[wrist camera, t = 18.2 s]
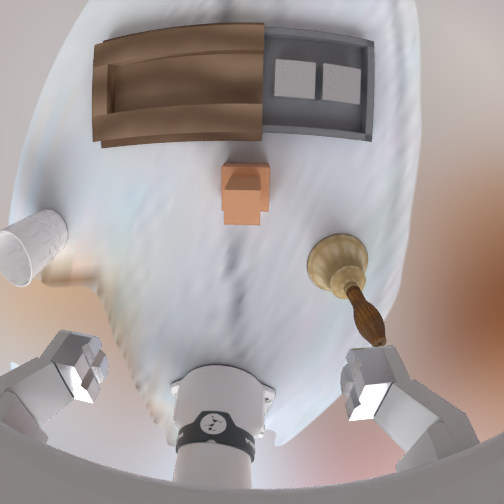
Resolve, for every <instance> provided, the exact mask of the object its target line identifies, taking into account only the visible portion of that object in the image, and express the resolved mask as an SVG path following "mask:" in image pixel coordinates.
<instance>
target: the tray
mask: <svg viewBox="0 0 504 504" xmlns="http://www.w3.org/2000/svg"><path fill="white" fill-rule="evenodd" d="M276 59H282V60H294V61H304V62H313V63H316V73H315V98H314V100H311V101H301V100H289V99H275V98H273V81H274V63H275V60H276ZM323 63H327V64H333V65H340V66H345V67H351V68H356V69H361V81H360V105H354V106H348V105H341V104H334V103H326V102H318V101H316V100H317V74H318V67H320V66H321V65H322V64H323ZM262 104H263V109H262V132H267V133H288V134H304V135H316V136H327V137H337V138H346V139H354V140H362V141H369V142H372V129H373V111H374V41H369V40H365V39H360V38H355V37H350V36H344V35H339V34H332V33H326V32H318V31H310V30H300V29H289V28H272V27H264V54H263V97H262Z"/></svg>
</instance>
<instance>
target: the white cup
mask: <svg viewBox="0 0 504 504" xmlns="http://www.w3.org/2000/svg"><path fill="white" fill-rule="evenodd" d="M67 241H68V230H67V227H66V225H65V222H64V220H63V219H62V218H61V216H60V215H59V214H58V213H57V212H55V211H53V210H51V209H48V210H42V211H40V212H38V213H36V214H33V215H30V216H28V217H26V218H24V219H22V220H20V221H18V222H16V223H14V224H12V225H10V226H8V227H6V228H4V229H2V230H0V271H1V272H2V274H3V275H4V277H5V278H6V279H7V280H8V281H9V282H11V283H12V284H14V285H15V286H18V287H25V286H27V285H28V284H29V283H30V282H31V281H32V280H33V279H34V278H35V277H36V276H37V275H38V274H39V273H40V272H41V271H42V270H43V269H44V268H45V267H46V266H47V265H48V264H49V263H50V262H51V261H52V260H53V259H54V258H55V256H56V255H57V254H58V253H59V252H60V251H61V250H62V249H64V247H65V245H66V243H67Z"/></svg>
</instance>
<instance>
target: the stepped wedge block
mask: <svg viewBox="0 0 504 504" xmlns="http://www.w3.org/2000/svg"><path fill="white" fill-rule="evenodd" d="M269 183H270V166H269V164H257V163H224V165H223V166H222V211H224V224H226V225H260V211H264V212H268V209H269Z"/></svg>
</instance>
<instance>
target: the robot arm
mask: <svg viewBox="0 0 504 504" xmlns="http://www.w3.org/2000/svg"><path fill="white" fill-rule="evenodd" d="M101 346H102V344H101V341H100V339H99V338H98V337H96V336H92V335H87V334H83V333H78V332H72V331H67V330H61V331H59V332H58V333H57V335H56V336H55V337H54V339H53V340H52V341H51V343H50V344H49V345H48V347H47V348H46V350H45V351H44V352H43V354H42V355H41V356H40V358H37V357H36V358H34V359H32V360H30V361H29V362H27V363H25V364H23V365H21V366H19V367H17V368H15V369H13V370H12V371H10V372H8V373H6V374H4V375H2V376H0V504H504V432H502V433H500V434H498V435H496V436H494V437H492V438H490V439H488V440H486V441H484V442H481V443H480V442H479V440H478V438H477V436H476V433H475V431H474V429H473V427H472V425H471V423H470V421H469V419H468V417H467V415H466V413H464V412H463V411H461V410H460V409H458V408H457V407H455V406H454V405H452V404H451V403H449V402H448V401H446V400H445V399H443V398H442V397H440V396H439V395H437V394H436V393H435V392H433V391H432V390H430V389H429V388H427V387H426V386H424V385H423V384H421V383H420V382H418V381H417V380H411V378H410V376H409V374H408V372H407V370H406V368H405V366H404V364H403V362H402V360H401V358H400V356H399V354H398V352H397V350H396V348H395V347H394V346H393V345H390V346H379V347H369V348H356V349H350V350H349V351H348V353H347V356H346V359H347V363H348V364H346V365H345V366H344V367H343V369H342V373H341V381H340V383H341V390H342V394H343V395H344V396H345V397H346V398H348V399H347V401H346V404H345V406H346V410H347V414H348V419H349V421H351V420H361V419H370V418H374V421H375V422H376V423H377V424H378V425H379V426H380V427H382V428H383V430H385V432H386V433H387V434H388V435H389V436H390V437H391V438H392V439H393V440H394V441H395V442H396V443H397V444H398V445H399V446H400V447H401V448H402V449H403V450H404V451H406V454H405V455H404V456H403V457H402V459H401V460H400V461H399V462H398V463H397V464H396V470H397V472H396V473H392V474H388V475H384V476H379V477H374V478H370V479H365V480H359V481H354V482H347V483H340V484H333V485H324V486H315V487H303V488H286V489H285V488H284V489H252V485H251V463H252V462H253V461H254V455H255V439H256V438H257V437H260V438H261V437H263V434H264V430H265V425H264V418H265V416H266V414H267V412H268V410H269V407H270V405H271V403H272V401H273V399H274V397H275V391H274V390H273V389H272V388H269V387H267V386H265V385H262V384H261V383H260V382H259V381H258V380H257V379H256V378H255V377H253V376H252V375H251V374H249V373H247V372H245V371H243V370H240V369H237V368H234V367H229V366H221V365H210V366H203V367H199V368H196V369H194V370H192V371H190V372H189V373H188V374H187V375H186V376H185V377H184V378H183V379H182V380H180V381H177V382H174V383H172V384H171V388H170V390H171V392H172V394H173V396H174V397H175V399H176V402H175V408H174V414H173V422H174V423H175V425H176V427H177V428H178V429H179V433H178V437H177V440H176V452H177V460H176V465H175V470H174V475H173V481H166V480H161V479H156V478H151V477H147V476H142V475H138V474H134V473H129V472H126V471H122V470H118V469H114V468H111V467H108V466H104V465H101V464H98V463H94V462H91V461H88V460H86V459H83V458H80V457H77V456H74V455H72V454H69V453H67V452H64V451H62V450H59V449H56V448H54V447H52V446H50V445H47V444H46V442H47V440H48V436H47V435H46V433H45V432H44V431H43V430H42V429H41V427H40V426H42V425H43V424H44V423H45V422H47V421H48V420H49V419H50V418H52V417H53V416H54V415H55V414H57V413H58V412H59V411H60V410H62V409H63V408H64V407H65V406H67V405H68V404H69V403H70V402H72V401H73V400H74V399H78V400H82V401H86V402H91V403H94V401H95V399H96V397H97V395H98V393H99V391H100V387H99V383H101V382H102V381H104V380H105V378H106V376H107V373H108V360H107V357H106V354H104V353H103V351H101V349H100V348H101Z"/></svg>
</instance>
